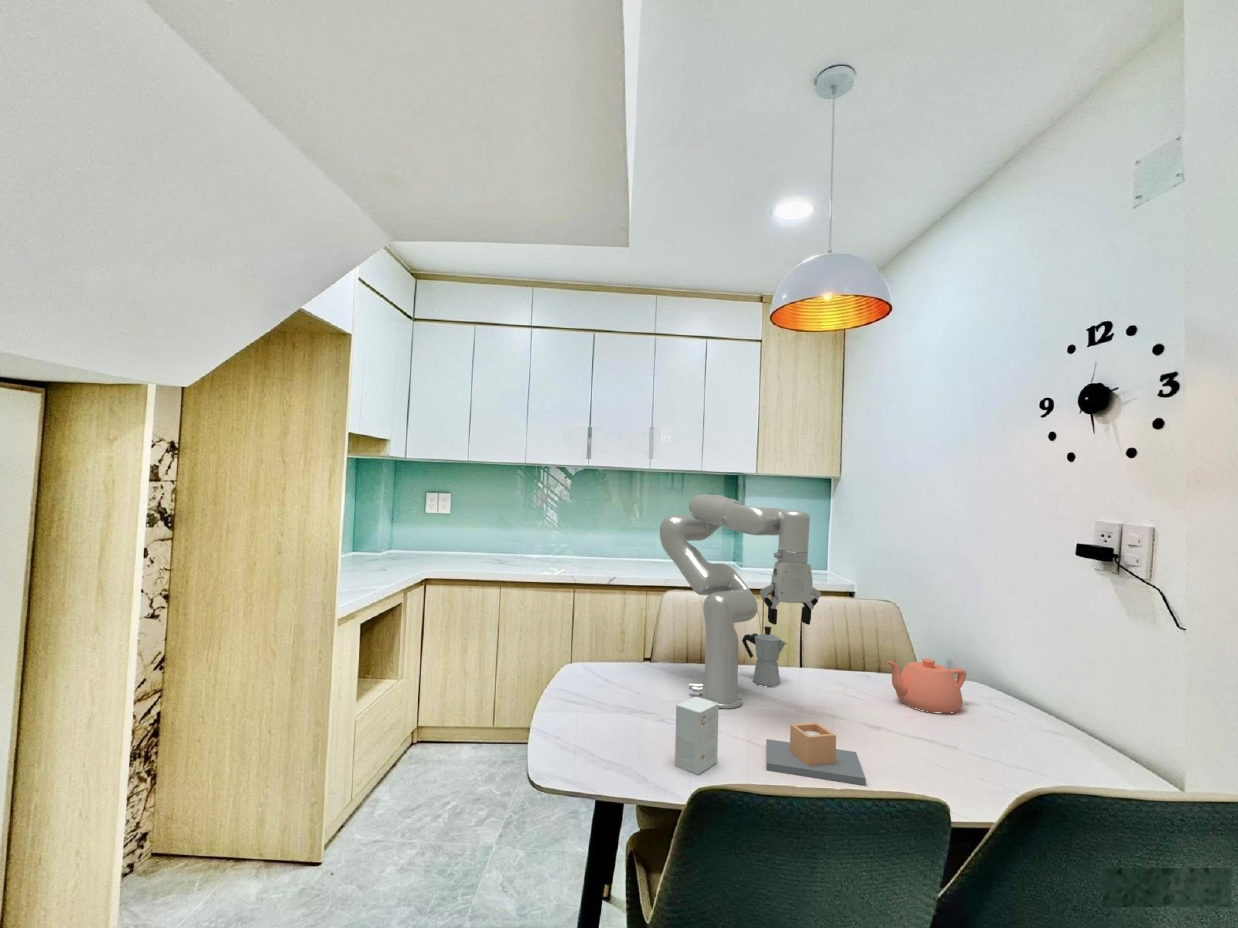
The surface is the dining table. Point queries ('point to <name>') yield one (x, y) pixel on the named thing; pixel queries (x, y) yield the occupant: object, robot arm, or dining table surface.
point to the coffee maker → (765, 657)
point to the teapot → (928, 686)
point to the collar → (813, 744)
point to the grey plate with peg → (840, 771)
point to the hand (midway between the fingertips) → (789, 623)
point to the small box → (696, 734)
